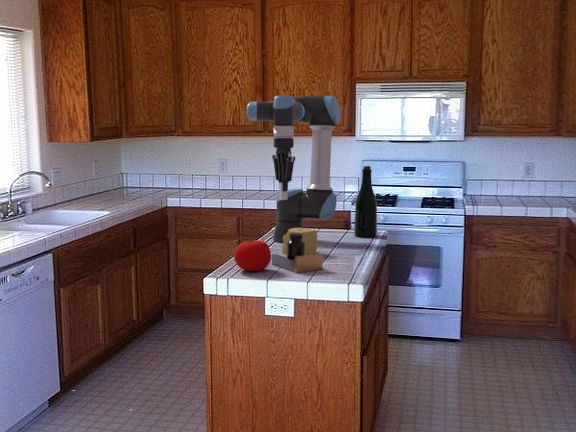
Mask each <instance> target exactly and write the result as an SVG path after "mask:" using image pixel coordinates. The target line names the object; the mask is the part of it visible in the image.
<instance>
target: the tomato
mask: <svg viewBox="0 0 576 432" xmlns="http://www.w3.org/2000/svg"><path fill="white" fill-rule="evenodd" d="M233 258H234V262H235V263H236V265H237V266H238V268H240V269H241V270H245V271H247V272H259V271H263V270H265V269H266V268H268V266H269V265H270V264H271V262H272V252H271V249H270V246H269V245H268V244H267V243H266V242H265V241H263V240H259V239H252V238H250V239H247V240H245V241H244V240H243V241H240V244H238V245H237V246H236V247H235V250H234V252H233Z"/></svg>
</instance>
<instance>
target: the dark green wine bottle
mask: <svg viewBox="0 0 576 432" xmlns="http://www.w3.org/2000/svg"><path fill="white" fill-rule="evenodd" d="M371 167H372V166H370V165H364V166H363V168H362V171H361V173H362V174H361V175H362V177H361V185H360V188H359V191H358V194H357V195H356V199H355V207H354V209H355V210H354V228H353V229H354V230H353V231H354V236H355V237H358V238H365V239H367V238H375V237H377V233H378V227H377V226H378V204H377V203H378V202H377V197H376V195H375V192H374V188H373V184H372V170H373V169H372V168H371Z"/></svg>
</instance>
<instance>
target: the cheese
mask: <svg viewBox="0 0 576 432" xmlns="http://www.w3.org/2000/svg"><path fill="white" fill-rule="evenodd" d="M291 233H301V234H302V237H303V239H302V241H304V243H305V254H308V255H309V254H317V249H318V233H317V230H316V229H309V228H292V229H289V230H288V232H287V234H286V235H284V236H283V242H284V243H283V245H282V246H281V251H282V254H284V255H287V242H288V241H289V240H290V239H289V237H290V234H291Z"/></svg>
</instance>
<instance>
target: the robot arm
mask: <svg viewBox="0 0 576 432" xmlns="http://www.w3.org/2000/svg"><path fill="white" fill-rule="evenodd" d="M339 104H340V103H339V100H338V99H337V98H336V97H335V96H331V95H313V96H312V95H311V96H308V95H307V96H306V95H305V96H304V95H303V96H298V97H296V96H295V97H294V96H293V95H275V96H274V98H273V101H270V100H269V101H251V102H249V103H248V104H247V106H246V117H247V119H248V120H249V121H251V122H253V121H254V122H273V136H274V138H273V148H274V149H276V151H275V154H273V155H272V157H271V158H272V161H273V167H274V169H273V170H274V175H275V181H278V184H279V185H278V187H279V188H278V190H279V191H278V192H277V193H276V201H275V202H276V225H275V228H274V231H273V233H272V241H273V242H276V243H281V244H284V242H283V236H284V235H286V234H287V232H288V230H289V229H292V228H304V225H303V219H308V220H309V219H310V220H313V219H315V220H329V219H331V218H333V216H334V215H335V211H336V207H337V202H338V201H337V200H338V199H337V194H336V193H334V192H333V191H334V190H333V188H332V187H331V186H330V182H331V180H330V179H331V178H330V177H331V159H332V157H331V156H332V137H333V136H332V135H333V133H332V132H333V130H335V129H336V124H339V123H340V121H341V108H340V105H339ZM295 122H297V123H304V124H305V123H306V124H308V126H309V128H310V130H311V131H312V132H311V134H312V135H311V153H310V154H311V157H310V179H309V180H310V182H309V185H308V186H307V187H306V191H304V190H303V188H291V189H288V188H289V184H288V183H290V182H292V178H293V173H294V172H293V171H294V165H295V161H296V156H293V155H292V148H294V147H295V146H294V143H295V141H294V140H295V139H294V138H293V137H294V136H295V135H294V133H295V131H294V129H295V128H294V127H295V126H294V123H295ZM304 229H305V228H304Z"/></svg>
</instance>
